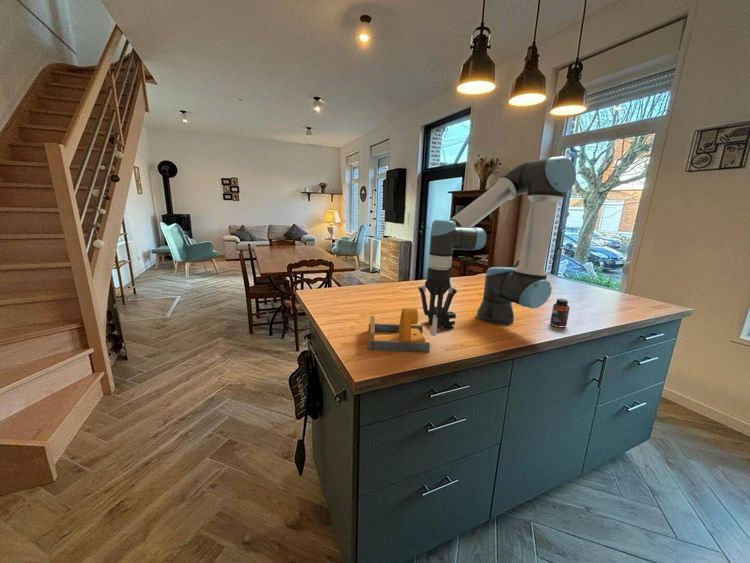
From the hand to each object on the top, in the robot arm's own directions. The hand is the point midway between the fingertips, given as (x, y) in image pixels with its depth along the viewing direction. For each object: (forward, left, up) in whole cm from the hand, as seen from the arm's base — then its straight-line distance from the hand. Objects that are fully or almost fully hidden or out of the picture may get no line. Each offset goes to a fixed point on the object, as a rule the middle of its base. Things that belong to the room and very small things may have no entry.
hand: (432, 334), depth 105 cm
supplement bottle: (-58, -22, -3) cm, 62 cm away
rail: (+12, 0, -3) cm, 13 cm away
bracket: (+7, 0, -3) cm, 8 cm away
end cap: (-7, -17, -3) cm, 19 cm away
